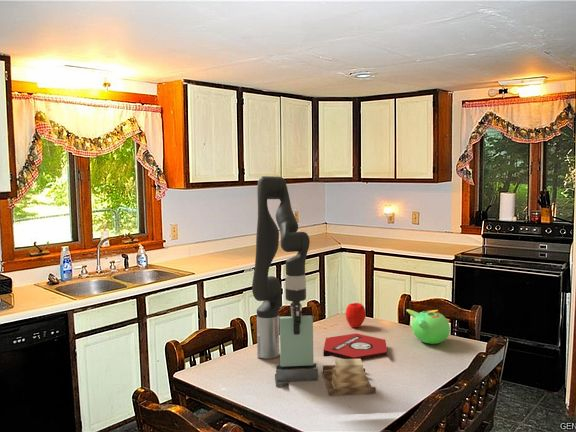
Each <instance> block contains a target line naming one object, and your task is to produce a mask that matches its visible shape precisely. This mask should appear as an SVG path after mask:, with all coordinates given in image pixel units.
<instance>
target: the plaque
mask: <svg viewBox="0 0 576 432" xmlns="http://www.w3.org/2000/svg"><path fill="white" fill-rule="evenodd" d="M324 341H325V342H324V344H323V345H324V346H323V357H335V358H337V359H361V361H363V360H369V359H370V360H371V359H376V358H381V357H388V348H387V341H386V339H385V338H384V339H383V338H379V337H375V336H369V335H365V334H361V333H355V332H354V333H350V334H343V335H337V336H336V335H335V336H329V337H325V340H324Z"/></svg>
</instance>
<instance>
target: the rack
mask: <svg viewBox="0 0 576 432" xmlns="http://www.w3.org/2000/svg"><path fill="white" fill-rule="evenodd" d="M333 368H335V364H325V365H324V364H323V365H322V371H321V373H320V374H321V376H322V379H323V382H324V384H325V385H324V386H325V388H326V390H327V394H328V396H329V397H334V396H335V397H336V396H337V397H338V396H355V395H375V394H377V391H376V389H377V387H376V386H372V384H371V382H370V380H369V379H368V377H367V376H366V382H367V387H359V388H337V389H334V387H333V385H332V375H333ZM363 370H364V372H365V373H366V368H364V367H363Z"/></svg>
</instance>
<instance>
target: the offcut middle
mask: <svg viewBox="0 0 576 432" xmlns="http://www.w3.org/2000/svg"><path fill="white" fill-rule="evenodd" d="M333 377H334V379H335V380H336V382H337V383H338V384H340V383H353V382H365V381H366V377H367V375H366V371H365V372H364V370H363V373H361V374H337V372H336V368H333Z"/></svg>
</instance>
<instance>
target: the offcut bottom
mask: <svg viewBox="0 0 576 432" xmlns="http://www.w3.org/2000/svg"><path fill="white" fill-rule="evenodd" d="M332 385H333V387H334V389H337V388H359V387H367V382H366V381H365V382H353V383H340V384H338V383H337V382H336V380H335V379H334V377H333V375H332Z"/></svg>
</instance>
